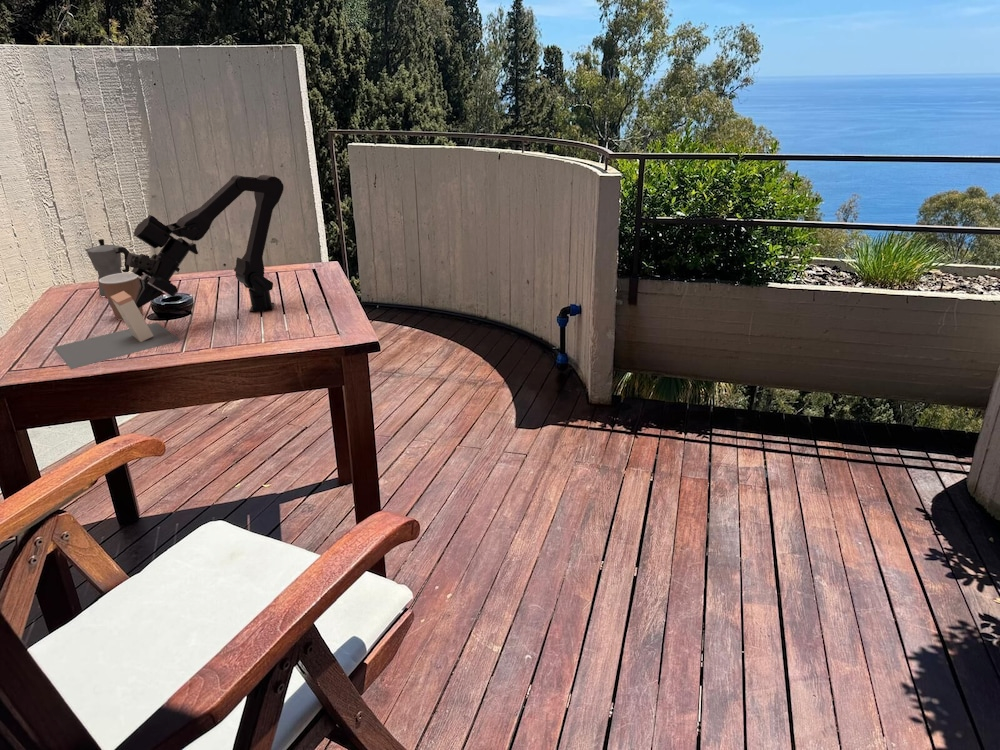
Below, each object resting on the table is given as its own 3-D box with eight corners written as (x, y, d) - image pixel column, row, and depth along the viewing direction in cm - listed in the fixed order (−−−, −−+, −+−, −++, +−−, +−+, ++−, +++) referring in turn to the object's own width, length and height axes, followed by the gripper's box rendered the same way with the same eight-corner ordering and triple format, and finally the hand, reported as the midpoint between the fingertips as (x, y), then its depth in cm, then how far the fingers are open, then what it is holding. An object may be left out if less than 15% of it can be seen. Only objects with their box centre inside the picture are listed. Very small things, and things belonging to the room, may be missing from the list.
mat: (157, 323, 191) (156, 322, 191) (181, 341, 177) (181, 340, 177) (53, 348, 175) (52, 347, 175) (71, 370, 161) (70, 369, 161)
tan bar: (145, 329, 183) (123, 290, 176) (153, 335, 178) (131, 296, 172) (132, 335, 181) (110, 296, 175) (140, 342, 176) (117, 302, 170)
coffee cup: (126, 310, 202) (116, 271, 197) (156, 311, 200) (146, 272, 195) (102, 322, 193) (90, 281, 188) (132, 323, 191) (121, 283, 186)
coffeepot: (87, 297, 215) (71, 242, 208) (108, 289, 224) (93, 235, 216) (130, 299, 213) (115, 243, 205) (149, 290, 221) (135, 236, 214)
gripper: (131, 235, 179) (96, 283, 177) (153, 246, 166) (116, 298, 164) (168, 258, 187) (136, 305, 185) (192, 271, 174) (157, 321, 172)
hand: (135, 307), depth 176 cm, fingers closed
